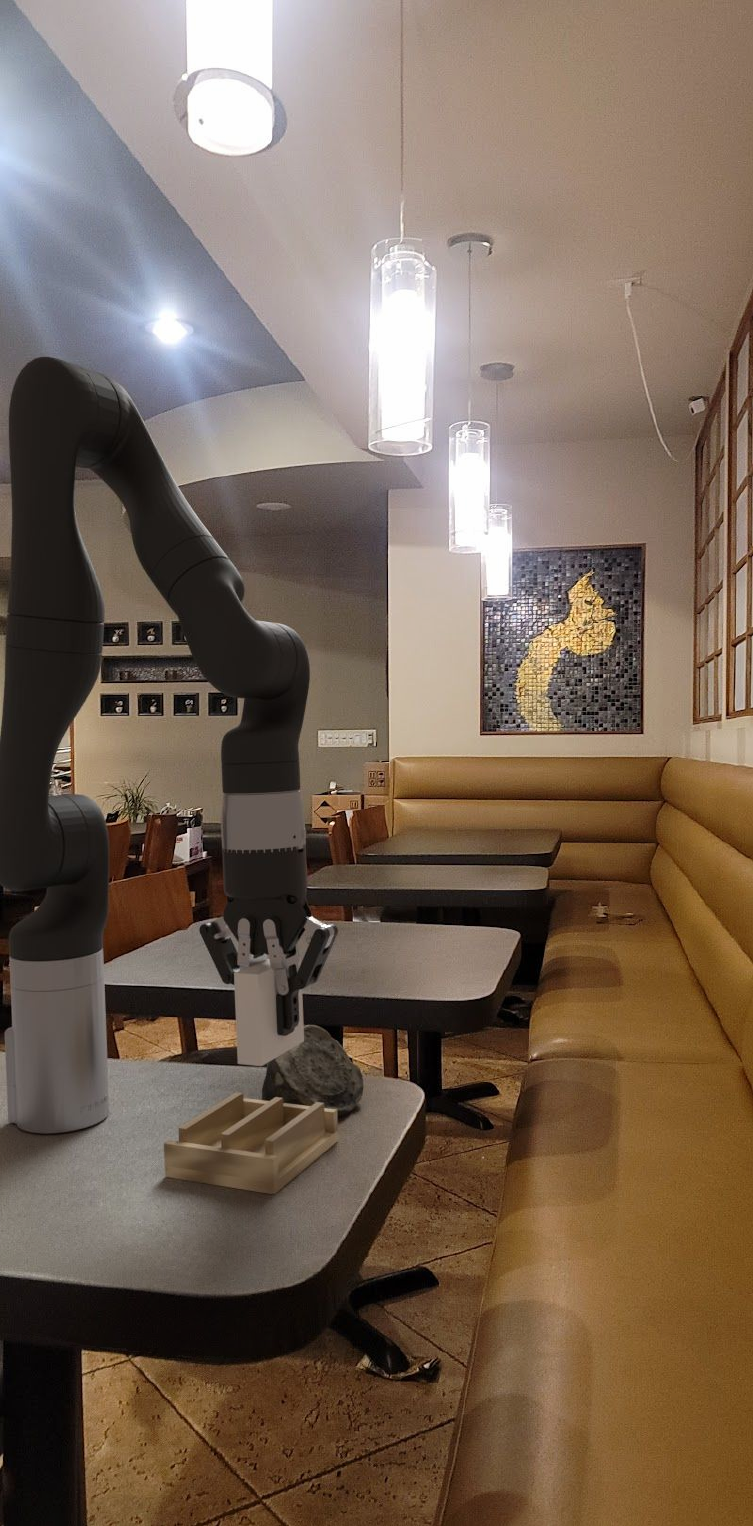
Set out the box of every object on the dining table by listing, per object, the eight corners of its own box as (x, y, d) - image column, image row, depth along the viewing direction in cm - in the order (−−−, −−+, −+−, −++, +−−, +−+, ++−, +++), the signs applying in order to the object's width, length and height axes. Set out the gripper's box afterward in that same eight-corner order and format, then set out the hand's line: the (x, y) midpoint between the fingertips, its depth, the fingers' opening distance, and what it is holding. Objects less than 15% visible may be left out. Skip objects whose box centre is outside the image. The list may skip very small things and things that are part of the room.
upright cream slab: (237, 1063, 95) (233, 973, 95) (281, 1039, 102) (278, 954, 102) (261, 1065, 94) (257, 974, 94) (304, 1041, 101) (300, 956, 101)
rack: (165, 1176, 96) (163, 1131, 96) (238, 1126, 107) (236, 1087, 107) (274, 1194, 91) (272, 1147, 91) (338, 1140, 103) (336, 1099, 103)
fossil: (351, 1123, 106) (301, 1033, 106) (274, 1161, 108) (225, 1073, 108) (375, 1083, 116) (330, 1002, 117) (305, 1119, 118) (260, 1039, 119)
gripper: (175, 846, 97) (183, 1037, 97) (313, 846, 91) (322, 1050, 92) (219, 837, 104) (227, 1016, 104) (351, 837, 98) (358, 1027, 99)
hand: (271, 1031), depth 98 cm, fingers closed on upright cream slab, 2 cm apart
